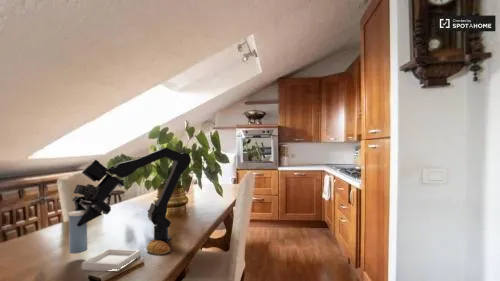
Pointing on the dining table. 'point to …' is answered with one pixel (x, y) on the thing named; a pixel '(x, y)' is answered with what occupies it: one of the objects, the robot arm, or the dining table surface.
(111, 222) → the dining table surface
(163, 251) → the pastry
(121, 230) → the dining table surface
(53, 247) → the dining table surface
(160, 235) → the robot arm
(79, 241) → the blue cylindrical canister
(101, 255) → the tray
